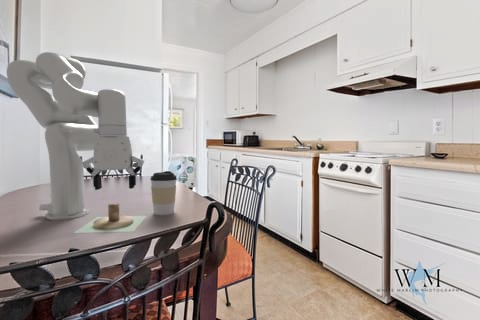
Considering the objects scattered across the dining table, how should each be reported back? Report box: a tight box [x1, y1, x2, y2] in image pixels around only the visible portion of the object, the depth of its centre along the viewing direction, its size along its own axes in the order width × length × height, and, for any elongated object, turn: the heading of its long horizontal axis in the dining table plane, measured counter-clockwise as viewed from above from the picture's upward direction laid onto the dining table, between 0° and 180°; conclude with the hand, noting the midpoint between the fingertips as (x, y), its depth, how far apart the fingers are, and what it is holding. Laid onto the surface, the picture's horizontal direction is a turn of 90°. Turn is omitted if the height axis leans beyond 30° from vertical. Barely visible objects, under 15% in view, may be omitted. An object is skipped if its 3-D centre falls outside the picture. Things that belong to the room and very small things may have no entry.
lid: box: [94, 202, 133, 229], centre depth 79 cm, size 11×11×6 cm
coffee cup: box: [150, 170, 178, 216], centre depth 93 cm, size 9×9×15 cm
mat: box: [73, 215, 148, 234], centre depth 80 cm, size 16×16×1 cm
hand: (115, 188), depth 79 cm, fingers open, 9 cm apart
